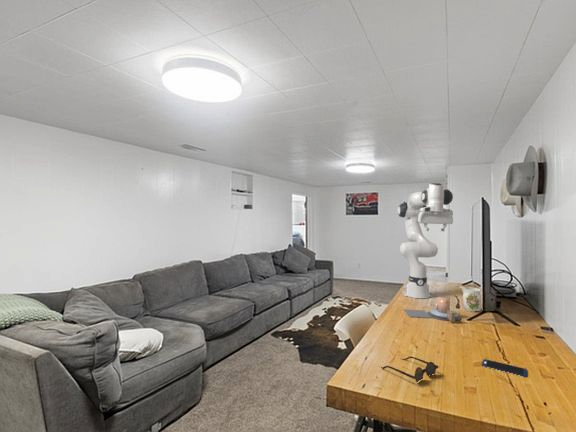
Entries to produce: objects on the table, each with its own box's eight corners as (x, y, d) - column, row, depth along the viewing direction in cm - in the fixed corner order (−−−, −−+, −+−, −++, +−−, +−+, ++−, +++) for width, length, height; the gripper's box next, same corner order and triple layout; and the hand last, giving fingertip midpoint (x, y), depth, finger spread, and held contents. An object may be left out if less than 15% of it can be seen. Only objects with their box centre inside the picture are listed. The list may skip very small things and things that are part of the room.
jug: (443, 308, 190) (444, 295, 190) (452, 314, 179) (452, 300, 179) (433, 308, 191) (433, 294, 191) (441, 313, 179) (441, 299, 179)
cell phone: (483, 360, 127) (483, 358, 127) (527, 371, 118) (527, 369, 118) (481, 367, 121) (481, 365, 121) (527, 378, 112) (527, 376, 112)
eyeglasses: (414, 386, 105) (414, 371, 105) (377, 368, 117) (377, 355, 117) (438, 374, 114) (438, 360, 114) (401, 359, 126) (401, 346, 126)
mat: (403, 310, 194) (403, 309, 194) (423, 311, 193) (423, 310, 193) (410, 317, 180) (410, 316, 180) (432, 318, 179) (432, 317, 179)
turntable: (426, 310, 191) (427, 302, 191) (451, 311, 189) (451, 303, 189) (439, 321, 171) (439, 311, 171) (466, 322, 170) (467, 312, 170)
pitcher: (492, 315, 187) (493, 292, 187) (457, 310, 196) (458, 288, 196) (491, 311, 196) (491, 288, 196) (458, 306, 205) (458, 285, 205)
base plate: (423, 311, 192) (423, 310, 192) (452, 312, 191) (452, 311, 191) (433, 320, 175) (433, 319, 175) (466, 321, 174) (466, 320, 174)
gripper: (450, 209, 202) (450, 231, 202) (417, 208, 204) (416, 230, 203) (455, 209, 196) (454, 231, 195) (420, 208, 197) (419, 230, 197)
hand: (435, 231), depth 200 cm, fingers open, 8 cm apart
